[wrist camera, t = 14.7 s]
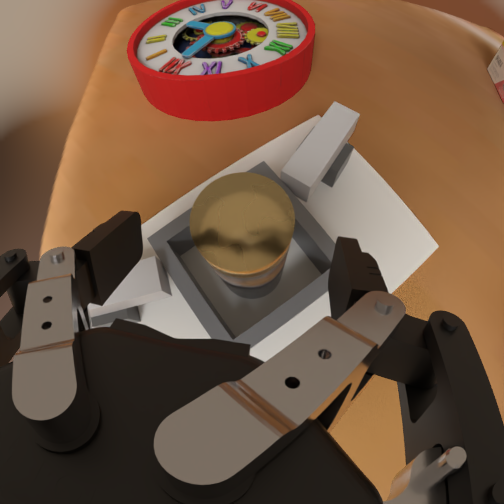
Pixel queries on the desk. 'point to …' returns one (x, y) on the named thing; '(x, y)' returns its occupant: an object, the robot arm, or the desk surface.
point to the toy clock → (222, 57)
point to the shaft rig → (300, 251)
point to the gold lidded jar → (244, 231)
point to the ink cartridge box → (498, 71)
